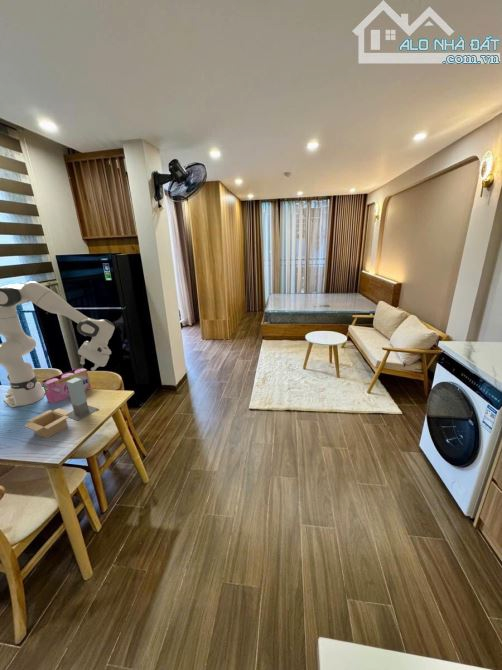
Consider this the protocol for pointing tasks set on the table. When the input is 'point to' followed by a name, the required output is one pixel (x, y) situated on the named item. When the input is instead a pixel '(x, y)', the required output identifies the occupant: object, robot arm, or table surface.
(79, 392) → the pale upright canister
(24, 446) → the table surface
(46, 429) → the carton
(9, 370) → the robot arm
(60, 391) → the pink multipack
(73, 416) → the mat
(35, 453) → the table surface
